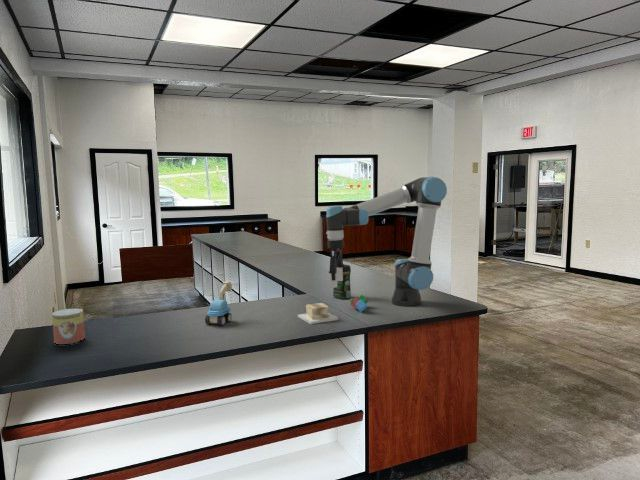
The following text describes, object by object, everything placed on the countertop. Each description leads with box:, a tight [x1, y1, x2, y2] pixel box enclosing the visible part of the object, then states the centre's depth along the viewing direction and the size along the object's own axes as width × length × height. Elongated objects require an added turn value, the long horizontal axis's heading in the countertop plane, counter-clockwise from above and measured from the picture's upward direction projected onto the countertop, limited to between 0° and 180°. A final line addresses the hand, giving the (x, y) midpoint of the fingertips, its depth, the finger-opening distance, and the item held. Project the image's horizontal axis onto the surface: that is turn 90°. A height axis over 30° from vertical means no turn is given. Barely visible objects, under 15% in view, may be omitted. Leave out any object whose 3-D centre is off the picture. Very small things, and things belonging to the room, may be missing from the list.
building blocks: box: [349, 294, 368, 313], centre depth 235 cm, size 8×8×12 cm
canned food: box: [51, 307, 86, 345], centre depth 193 cm, size 11×11×12 cm
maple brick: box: [305, 302, 330, 319], centre depth 221 cm, size 8×8×5 cm
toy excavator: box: [204, 281, 233, 326], centre depth 218 cm, size 9×17×17 cm, turn 161°
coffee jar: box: [332, 263, 352, 300], centre depth 260 cm, size 10×8×19 cm
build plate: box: [297, 312, 339, 325], centre depth 221 cm, size 14×14×1 cm
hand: (337, 284), depth 225 cm, fingers open, 13 cm apart
